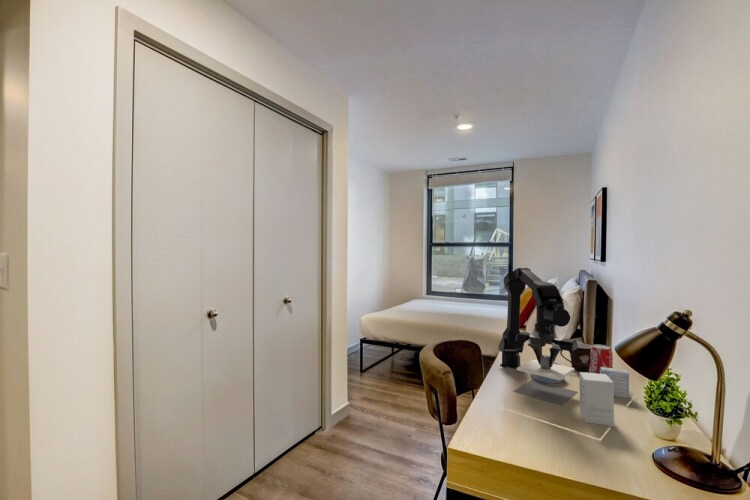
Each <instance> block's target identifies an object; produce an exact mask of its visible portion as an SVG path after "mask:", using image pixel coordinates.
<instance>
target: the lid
mask: <svg viewBox="0 0 750 500" xmlns="http://www.w3.org/2000/svg"><path fill="white" fill-rule="evenodd" d="M540 362H541V365H539V363H538V360H537V359H532V360H529V361H528V362H526V363H523V364H521V366H519V367H516V371H519V372H523V373H526V374H530V373H531V374H535V375H539V376H543V377H547V378H551V379H556V380H561V379H563V378H564V377H565V378H566V377H568V375H570V374H571V373H573V372H575V370H574V368H572V366H571V367H570V366H567V365H566V366H565V365H562V364H561V365H557V364H553V366H552V367H550V355H546V354H542V355H541V356H540Z"/></svg>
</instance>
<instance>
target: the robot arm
mask: <svg viewBox="0 0 750 500" xmlns="http://www.w3.org/2000/svg"><path fill="white" fill-rule="evenodd" d="M503 286H504V289H505V290H506V292H507V315H506V317H507V318H506V320H507V322H506V327H505V330H504V331H503V332H502V335H501V337H502V338H501V340H500V341H499V343H498V351H500V352H501V363H500V364H499V366H501V367H504V368H511V369H517V368H518V367H520V366H522V364H521V355H520V354H522V353H523V352H524V348H525V347H524V346H525V343H526V342H527V341H528V344H527V346H528V347H530V348H531V349H532V350H533V352H534V354H535V358H536V360H538V363H539V365H541V362H540V356H541V355H543V347H546V345H551V347H550V348H549V352H550V353H549V356H550V367H552V366H553V364H554V362H555V361H556V359H557V357H558V354H560V351H561V350H563V351H568V352H569V351H574V350H576V349H577V348H578V343H579V342H577V340H576V339H570V338H562V339H556V338H557V335H556V331H555V329H556V327H557V326H558V327H562V328H563V327H565V326H568V324H569V323H570V321H571V315H570V312H568V310H567V309H565V306H564V305H565V304H564V302H563V301H564V300H563V297H562V296H561V293H560V290H559V288H558V287H557V286H556V284H554V283H551V282H548V281H544V280H542V279H541V278H540V277H538V276H537V274H535V273H534V272H533V271H532V270H531V268H529V267H517V268H515V269H514V270H512V271H510V272H507V273H506V274H505V276H503ZM526 286H527V287H528V289H530V290H531V295H532V297H533V298H534V301H535V303H534V307H536V309H535V310H536V313H535V314H536V322H535V323H534V329H533V330H532V331H531V332H527V331H520V316H521V296H522V294H524V292H525V291H526Z"/></svg>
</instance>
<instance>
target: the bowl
mask: <svg viewBox="0 0 750 500" xmlns="http://www.w3.org/2000/svg"><path fill="white" fill-rule="evenodd" d="M554 364H557V365H562V364H561V363H559V362H555V361H554ZM529 374H530V376H531V377H532V378H533V380H534V379H535V381H536V380H537V381H538V382H541V383H547V384H548V383H549V384H559V383H562V382H564V380H565V378H566V377H564V378H563V379H561V380H556V379H551V378H547V377H543V376H539V375H535V374H531V373H529Z"/></svg>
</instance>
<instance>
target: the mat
mask: <svg viewBox="0 0 750 500" xmlns="http://www.w3.org/2000/svg"><path fill="white" fill-rule="evenodd" d="M512 392H513V393H516V394H519V395H523V396H526V397H530V398H534V399H536V400H540V401H543V402H547V403H551V404H554V405H557V406H560V407H562V406H563V405H565V404H566V403H567V402H568V401H570V400H571V399H572V398H573V397H575V396H576V395H577V394H578V393H579V391H577V390H571V389H568V388H565V387H560V386H555V385H552V384H550V383H549V384H548V383H546V382H542V381H538V380H537V381H536V380H534V379H533V380H530V381H528V382H527V383H526V382H525V384H522V385H521V386H520V387H518V388H516V389H515V390H513V391H512Z"/></svg>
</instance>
